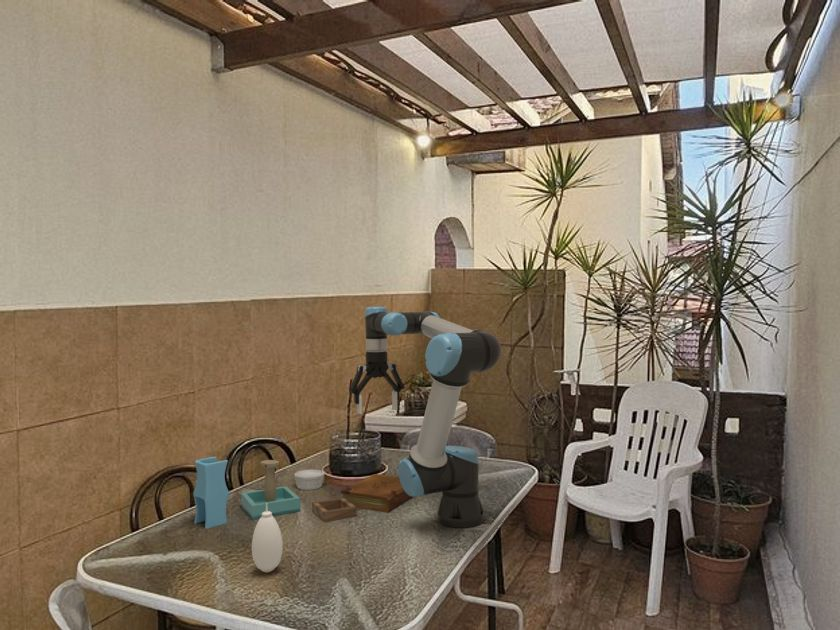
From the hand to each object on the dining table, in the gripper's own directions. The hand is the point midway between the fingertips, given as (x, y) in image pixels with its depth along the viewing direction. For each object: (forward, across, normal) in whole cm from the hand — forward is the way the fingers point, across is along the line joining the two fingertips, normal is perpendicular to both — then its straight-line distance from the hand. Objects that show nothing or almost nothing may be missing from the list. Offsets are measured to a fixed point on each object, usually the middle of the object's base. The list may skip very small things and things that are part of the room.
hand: (377, 411), depth 218 cm
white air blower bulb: (+32, +49, +37) cm, 69 cm away
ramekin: (+32, +15, -30) cm, 46 cm away
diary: (+32, -2, -2) cm, 33 cm away
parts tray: (+32, +35, -12) cm, 49 cm away
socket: (+32, +18, +4) cm, 37 cm away
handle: (+31, +35, -12) cm, 48 cm away
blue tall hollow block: (+32, +55, -8) cm, 64 cm away
